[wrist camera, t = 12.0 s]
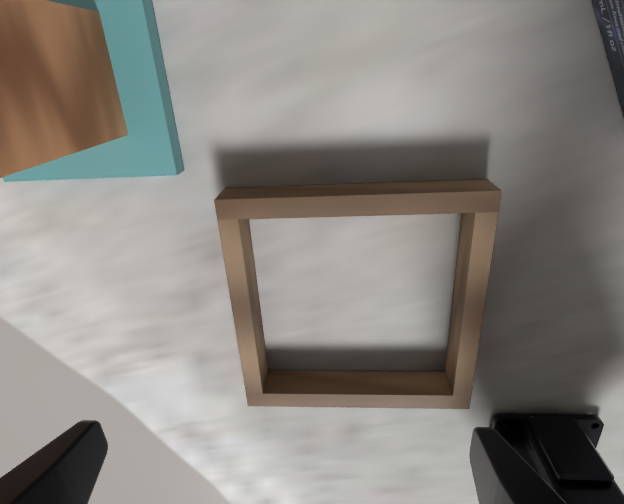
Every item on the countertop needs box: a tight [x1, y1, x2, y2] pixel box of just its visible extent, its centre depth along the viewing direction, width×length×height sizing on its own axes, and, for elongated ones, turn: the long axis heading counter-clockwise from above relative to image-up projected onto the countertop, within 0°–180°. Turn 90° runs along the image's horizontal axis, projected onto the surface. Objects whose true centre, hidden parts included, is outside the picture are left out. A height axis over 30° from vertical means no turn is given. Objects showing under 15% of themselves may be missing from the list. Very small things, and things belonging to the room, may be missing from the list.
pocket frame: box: [214, 179, 501, 409], centre depth 22 cm, size 13×13×2 cm
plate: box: [3, 0, 184, 182], centre depth 18 cm, size 9×9×1 cm
